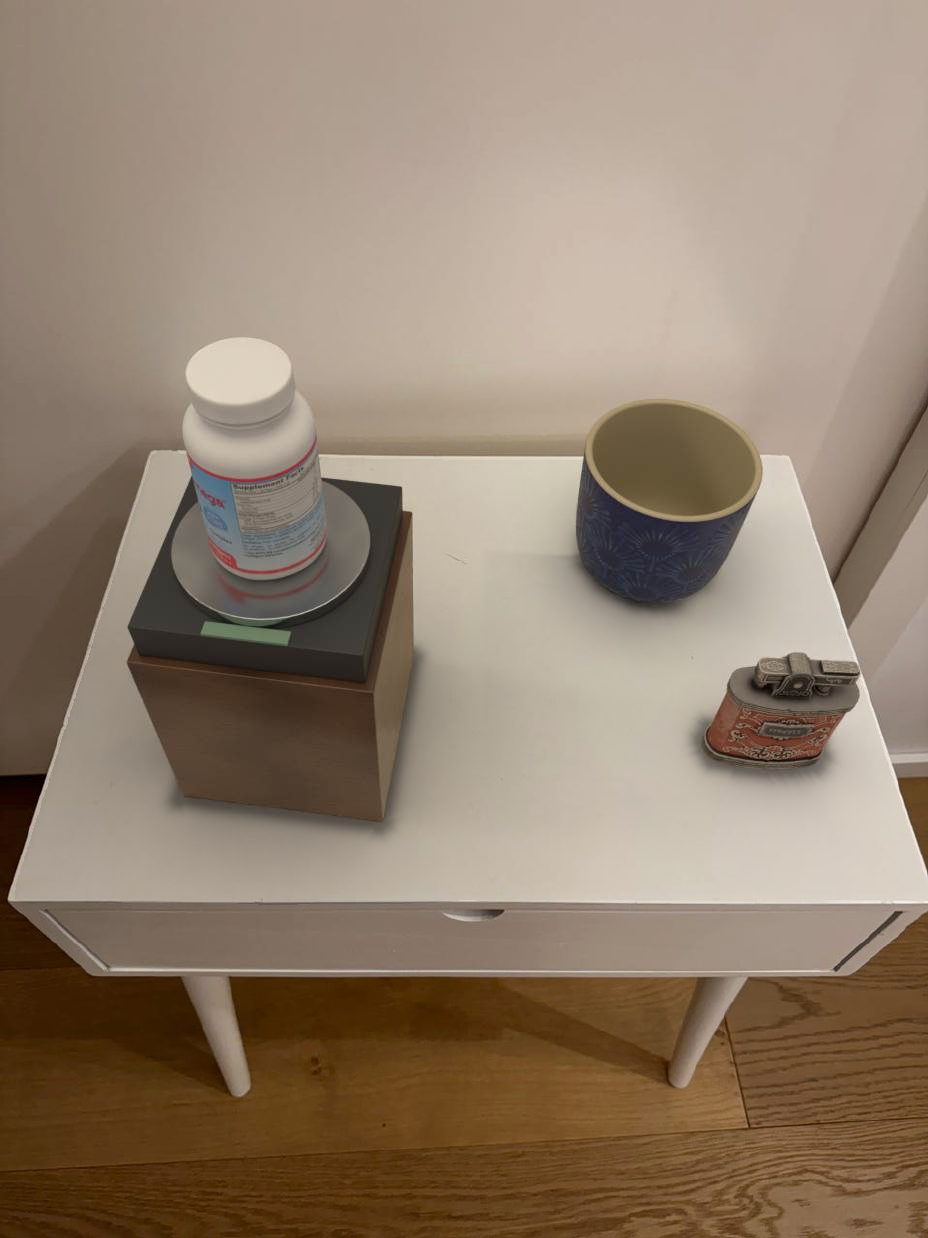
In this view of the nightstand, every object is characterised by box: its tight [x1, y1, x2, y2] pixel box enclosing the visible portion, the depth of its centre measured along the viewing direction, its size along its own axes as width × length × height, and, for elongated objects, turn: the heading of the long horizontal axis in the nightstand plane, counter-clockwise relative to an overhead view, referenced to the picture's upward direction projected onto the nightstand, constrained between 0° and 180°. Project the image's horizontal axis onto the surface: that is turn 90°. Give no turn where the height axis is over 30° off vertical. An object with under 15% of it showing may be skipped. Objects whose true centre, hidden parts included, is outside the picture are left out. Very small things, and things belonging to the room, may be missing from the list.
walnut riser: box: [126, 510, 415, 822], centre depth 59 cm, size 13×13×15 cm
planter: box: [575, 398, 764, 604], centre depth 71 cm, size 12×12×11 cm
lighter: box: [701, 651, 862, 770], centre depth 61 cm, size 8×3×10 cm, turn 88°
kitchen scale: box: [127, 475, 404, 683], centre depth 52 cm, size 12×12×3 cm
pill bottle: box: [181, 336, 327, 580], centre depth 46 cm, size 6×6×11 cm
